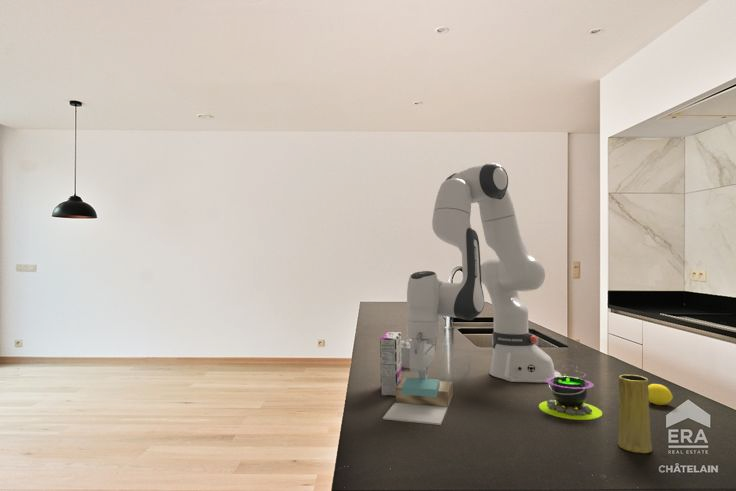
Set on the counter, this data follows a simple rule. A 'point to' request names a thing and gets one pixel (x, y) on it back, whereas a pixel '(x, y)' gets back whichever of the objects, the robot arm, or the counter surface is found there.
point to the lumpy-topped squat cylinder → (405, 352)
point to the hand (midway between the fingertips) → (423, 380)
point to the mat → (416, 413)
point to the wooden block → (441, 399)
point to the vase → (634, 414)
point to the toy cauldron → (570, 399)
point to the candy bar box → (390, 362)
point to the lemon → (659, 394)
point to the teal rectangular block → (421, 387)
